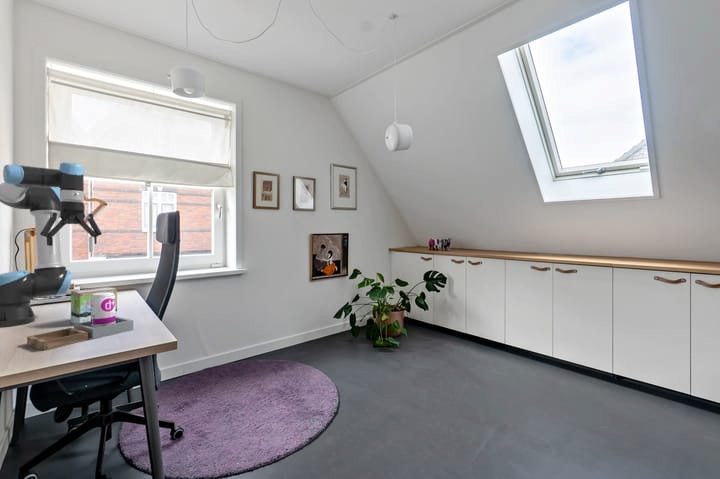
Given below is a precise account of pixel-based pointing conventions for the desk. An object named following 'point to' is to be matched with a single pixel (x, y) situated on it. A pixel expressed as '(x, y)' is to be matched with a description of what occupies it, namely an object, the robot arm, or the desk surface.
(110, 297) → the supplement can
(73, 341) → the tray
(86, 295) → the tea box
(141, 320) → the desk surface
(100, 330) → the tray
